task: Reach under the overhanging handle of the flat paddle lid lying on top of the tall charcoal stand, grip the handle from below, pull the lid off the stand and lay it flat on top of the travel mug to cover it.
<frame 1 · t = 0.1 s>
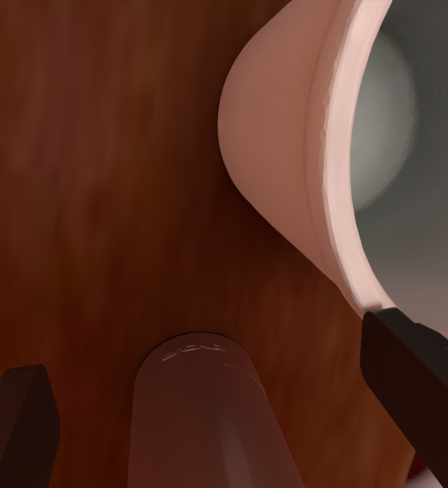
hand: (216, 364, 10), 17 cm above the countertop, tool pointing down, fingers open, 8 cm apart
utensil holder: (321, 125, 27), on the countertop, touching gripper
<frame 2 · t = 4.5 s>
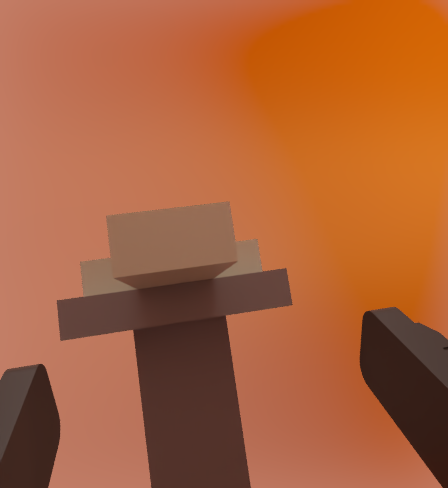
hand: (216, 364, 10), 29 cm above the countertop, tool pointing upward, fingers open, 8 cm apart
paddle lid: (175, 285, 23), point 32 cm above the countertop, touching tall stand
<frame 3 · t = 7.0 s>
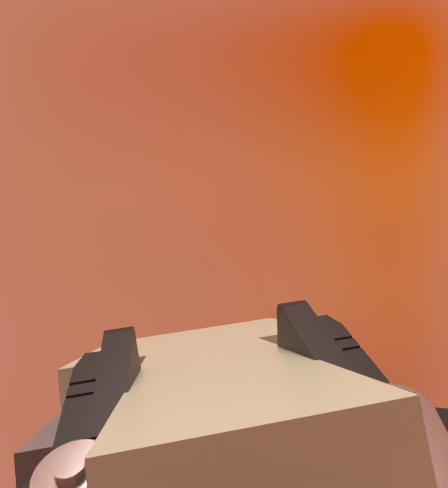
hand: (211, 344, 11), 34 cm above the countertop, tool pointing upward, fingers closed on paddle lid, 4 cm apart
paddle lid: (209, 401, 15), point 32 cm above the countertop, touching gripper, tall stand
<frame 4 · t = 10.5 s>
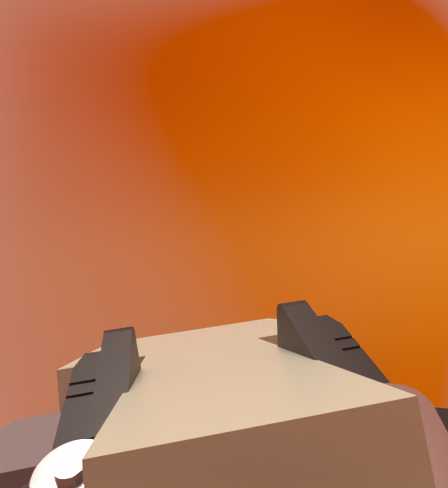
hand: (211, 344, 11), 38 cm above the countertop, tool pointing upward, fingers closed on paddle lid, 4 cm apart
paddle lid: (209, 401, 15), point 36 cm above the countertop, touching gripper
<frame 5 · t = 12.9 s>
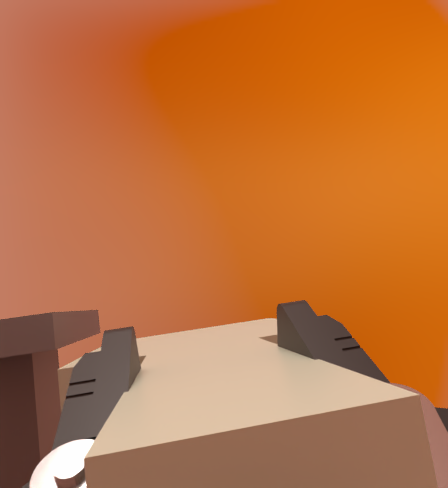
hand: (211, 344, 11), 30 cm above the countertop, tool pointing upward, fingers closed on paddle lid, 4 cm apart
paddle lid: (209, 401, 15), point 28 cm above the countertop, touching gripper
when the fingers open (25 cm above the countertop, at t = 14.5 s): paddle lid drops 3 cm, resting on travel mug.
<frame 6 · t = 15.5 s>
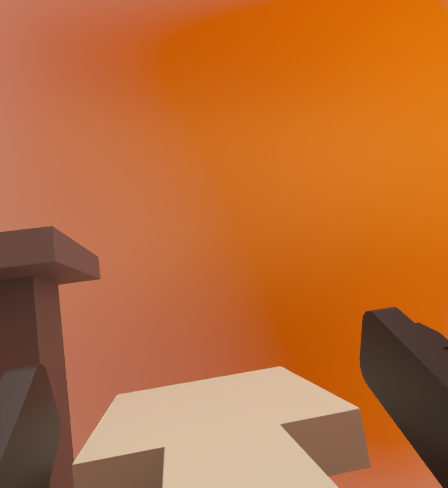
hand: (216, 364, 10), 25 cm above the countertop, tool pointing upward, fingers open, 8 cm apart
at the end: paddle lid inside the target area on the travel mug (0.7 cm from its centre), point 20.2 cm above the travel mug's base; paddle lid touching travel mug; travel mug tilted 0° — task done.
